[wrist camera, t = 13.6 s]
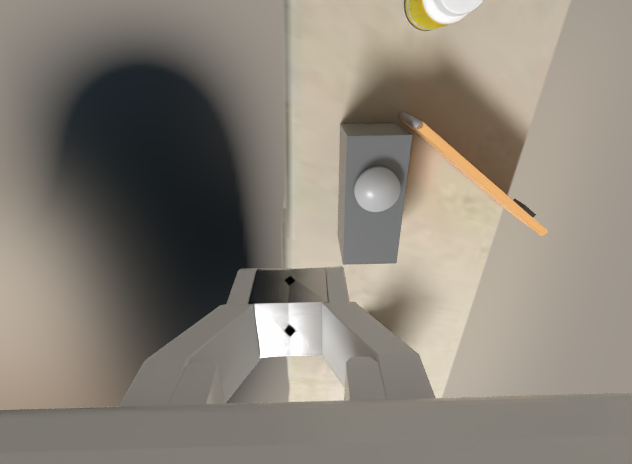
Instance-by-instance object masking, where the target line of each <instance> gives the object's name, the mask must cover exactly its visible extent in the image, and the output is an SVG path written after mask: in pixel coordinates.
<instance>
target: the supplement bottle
mask: <svg viewBox="0 0 632 464" xmlns="http://www.w3.org/2000/svg"><path fill="white" fill-rule="evenodd" d="M482 2H483V0H403V12H404V16H405V18H406V20H407V22H408V23H409V24H410V26H412V27H413V28H415V29H417V30H420V31H430V30H433V29H436V28H439V27H443V26H446V25H449V24H452V23H455V22H457V21H459V20H461V19H462V18H464V17H465V16H466V15H468V14H469V13H470V11H472V10H474V9H475V8H476V7H478V6H479V5H480V4H481V3H482Z"/></svg>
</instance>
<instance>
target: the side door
mask: <svg viewBox="0 0 632 464" xmlns="http://www.w3.org/2000/svg"><path fill="white" fill-rule="evenodd" d="M398 117H399V119H400V120H401V121H403V122H404V123H405V124H406V125H407V126H408V127H410V128H411V129H412V130H413V131H414V132H416V133H417V134H418V135H419V136H420V137H421V138H423V139H424V140H425V141H426V142H427V143H428V144H430V145H431V146H432V147H433V148H434V149H436V150H437V151H438V152H439V153H440V154H441V155H443V156H444V157H445V158H446V159H447V160H448V161H450V162H451V163H452V164H453V165H454V166H456V167H457V168H458V169H459V170H460V171H461V172H463V173H464V174H465V175H466V176H467V177H468V178H470V179H471V180H472V181H473V182H474V183H476V184H477V185H478V186H479V187H480V188H481V189H483V190H484V191H485V192H486V193H487V194H488V195H490V196H491V197H492V198H493V199H494V200H495V201H497V202H498V203H499V204H500V205H501V206H503V207H504V208H505V209H506V210H507V211H508V212H510V213H511V214H512V215H513V216H515V217H516V218H517V219H519V220H520V221H522V222H523V223H524V224H526V225H527V226H528V227H530V228H531V229H533V230H534V231H535V232H537V233H538V234H539V235H541V236H544V235H545V234H546V233H547V232H548V231H547V230H546V229H545V228H544V227H543V226H542V225H541V224H539V223H538V222H537V221H536V220H535V219H533V217H534V216H535V215H536V214H534V213H533V212H532V211H531V210H530V209H529V208H528V207H526V206H525V205H524V204H522V203H521V202H519V201H518V200H516V199H514V200H512V199H511V198H510V197H508V196H507V195H506V194H505V193H504V192H503V191H502V190H500V189H499V188H498V187H497V186H496V185H495V184H494V183H492V182H491V181H490V180H489V179H488V178H487V177H486V176H484V175H483V174H482V173H481V172H480V171H479V170H478V169H476V168H475V167H474V166H473V165H472V164H471V163H470V162H468V161H467V160H466V159H465V158H464V157H463V156H461V155H460V154H459V153H458V152H457V151H456V150H455V149H453V148H452V147H451V146H450V145H449V144H448V143H447V142H445V141H444V140H443V139H442V138H441V137H440V136H439V135H437V134H436V133H435V132H434V131H433V130H432V129H431V128H429V127H428V126H427V125H426V124H425V123H424V122H423V121H421V120H419V119H417V118H415V117H413V116H411V115H409V114H407V113H405V112H400V113H399V115H398Z"/></svg>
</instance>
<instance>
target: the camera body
mask: <svg viewBox="0 0 632 464" xmlns="http://www.w3.org/2000/svg"><path fill="white" fill-rule="evenodd" d="M411 143H412V134H410V133H409V132H407V131H406V130H404V129H403V128H401V127H400V126H398V125H397V124H395V123H357V124H340V162H339V206H338V239H339V244H340V250H341V256H342V262H343V264H386V263H396V262H397V254H398V246H399V238H400V230H401V222H402V214H403V206H404V198H405V190H406V182H407V175H408V167H409V159H410V151H411Z"/></svg>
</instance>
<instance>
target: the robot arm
mask: <svg viewBox="0 0 632 464" xmlns="http://www.w3.org/2000/svg"><path fill="white" fill-rule="evenodd" d="M276 356H323V358H324V360H325V361H326V363H327V364H328V365H329V367H330V368H331V370H332V371H333V372H334V374H335V375H336V377H337V378H338V379H339V381H340V382H341V384H342V385H343V386H344V388H345V393H344V401H309V402H278V403H277V402H275V403H274V402H273V403H238V404H226V402H227V401H228V399H229V398H230V397H231V396H232V394H233V393H234V392H235V391H236V389H237V388H238V387H239V386H240V384H241V383H242V382H243V380H244V379H245V378H246V377H247V375H248V374H249V373H250V372H251V370H252V369H253V368H254V367H255V365H256V364H257V363H258V362H259V360H260V357H276ZM0 464H632V393H607V394H605V393H604V394H568V395H534V396H533V395H532V396H497V397H462V398H435V395H434V393H433V390H432V387H431V385H430V382H429V380H428V377H427V374H426V372H425V369H424V367H423V364H422V361H421V359H420V356H419V354H418V353H417V352H415V351H414V350H413V349H412V348H410V347H409V346H408V345H407V344H406V343H404V342H403V341H402V340H401V339H399V338H398V337H397V336H396V335H395V334H393V333H392V332H391V331H390V330H388V329H387V328H386V327H385V326H383V325H382V324H381V323H380V322H379V321H377V320H376V319H375V318H374V317H372V316H371V315H370V314H369V313H368V312H366V311H365V310H364V309H363V308H361V307H360V306H359V305H358V304H357V303H355V302H349V296H348V291H347V285H346V279H345V274H344V268H343V267H342V266H341V267H325V268H304V269H240V270H239V271H238V273H237V276H236V278H235V281H234V284H233V287H232V290H231V293H230V296H229V299H228V302H227V304H226V305H221V306H219V307H218V308H216V309H215V310H214V311H212V312H211V313H210V314H208V315H207V316H205V317H204V318H203V319H201V320H200V321H199V322H197V323H196V324H195V325H193V326H192V327H190V328H189V329H188V330H186V331H185V332H184V333H182V334H181V335H179V336H178V337H177V338H176V339H174V340H172V341H171V342H170V343H168V344H167V345H166V346H164V347H163V348H161V349H160V350H159V351H157V352H156V353H155V354H154V355H152V356H150V357H149V358H148V359H146V360H145V361H144V363H143V365H142V367H141V368H140V370H139V372H138V374H137V375H136V377H135V379H134V381H133V382H132V384H131V386H130V388H129V390H128V391H127V393H126V395H125V397H124V399H123V400H122V402H121V404H120V405H119V407H92V408H55V409H20V410H19V409H18V410H0Z"/></svg>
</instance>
